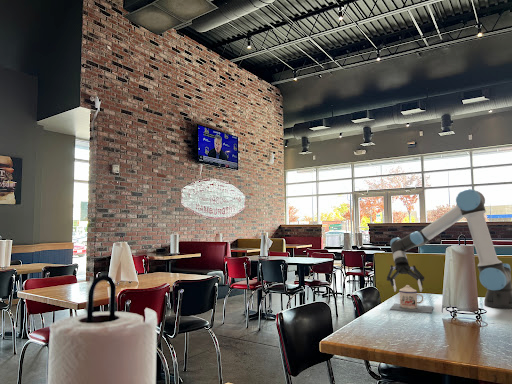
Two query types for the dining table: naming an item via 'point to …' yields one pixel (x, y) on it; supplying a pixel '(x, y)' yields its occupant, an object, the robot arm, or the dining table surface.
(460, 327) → the dining table surface
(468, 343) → the dining table surface
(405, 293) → the teacup with lid
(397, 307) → the mat
